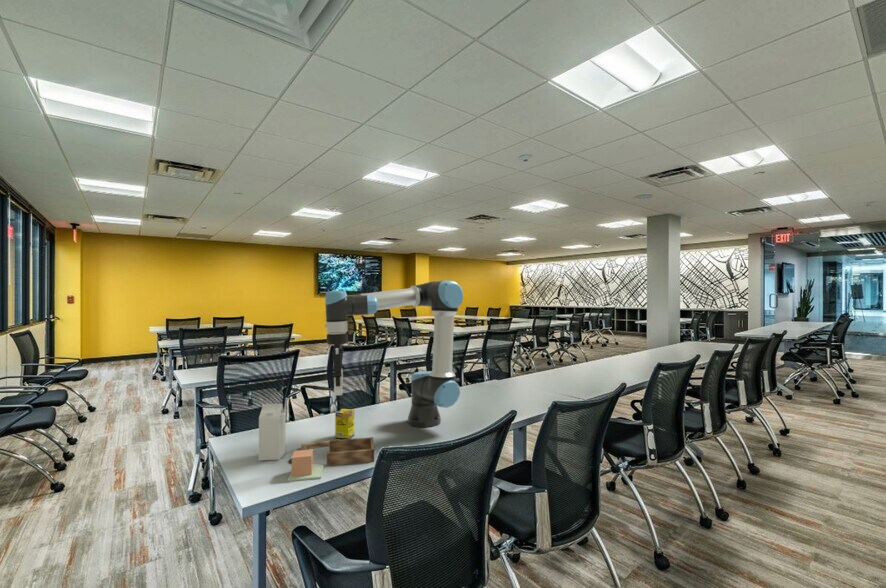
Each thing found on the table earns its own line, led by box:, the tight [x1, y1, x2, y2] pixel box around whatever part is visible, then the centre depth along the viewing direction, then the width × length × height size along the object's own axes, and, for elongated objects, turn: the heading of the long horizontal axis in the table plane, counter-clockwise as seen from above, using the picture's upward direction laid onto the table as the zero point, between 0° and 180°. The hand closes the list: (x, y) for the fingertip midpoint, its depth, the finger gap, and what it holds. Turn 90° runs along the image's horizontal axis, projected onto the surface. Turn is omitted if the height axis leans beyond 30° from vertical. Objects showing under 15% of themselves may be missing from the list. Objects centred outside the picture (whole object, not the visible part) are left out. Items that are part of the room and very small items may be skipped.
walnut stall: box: [326, 436, 375, 466], centre depth 147 cm, size 16×13×4 cm
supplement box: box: [334, 408, 355, 440], centre depth 166 cm, size 6×6×11 cm
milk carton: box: [258, 403, 286, 461], centre depth 147 cm, size 7×7×19 cm
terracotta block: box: [291, 448, 314, 477], centre depth 132 cm, size 6×6×6 cm
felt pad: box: [287, 463, 325, 482], centre depth 133 cm, size 10×10×1 cm
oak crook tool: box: [300, 439, 339, 450], centre depth 155 cm, size 14×6×2 cm, turn 112°
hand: (339, 390), depth 149 cm, fingers open, 13 cm apart
